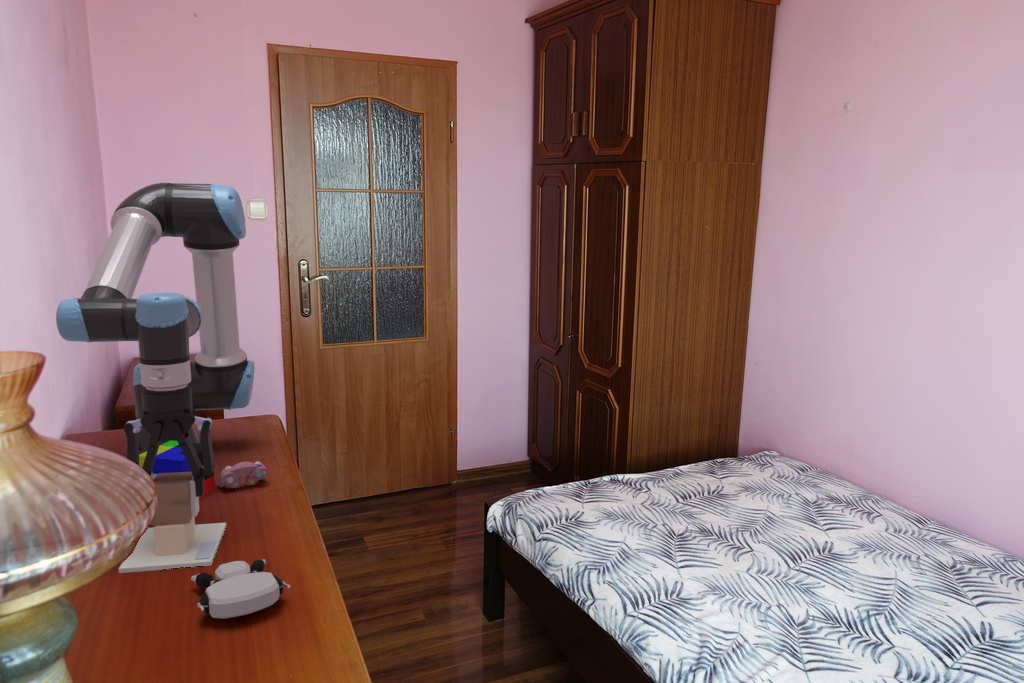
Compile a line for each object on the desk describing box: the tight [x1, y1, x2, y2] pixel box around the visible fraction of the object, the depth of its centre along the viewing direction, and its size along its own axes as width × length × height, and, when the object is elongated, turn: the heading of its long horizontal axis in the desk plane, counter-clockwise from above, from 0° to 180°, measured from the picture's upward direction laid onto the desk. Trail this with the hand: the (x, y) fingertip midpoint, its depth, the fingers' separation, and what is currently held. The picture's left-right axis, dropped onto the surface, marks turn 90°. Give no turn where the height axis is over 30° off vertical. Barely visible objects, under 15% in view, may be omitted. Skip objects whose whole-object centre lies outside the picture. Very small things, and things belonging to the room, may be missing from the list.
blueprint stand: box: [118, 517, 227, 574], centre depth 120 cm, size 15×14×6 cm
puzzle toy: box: [139, 441, 216, 499], centre depth 142 cm, size 10×10×10 cm
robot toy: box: [190, 559, 291, 620], centre depth 105 cm, size 12×4×15 cm
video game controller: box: [216, 461, 268, 489], centre depth 148 cm, size 10×5×7 cm, turn 123°
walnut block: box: [150, 472, 193, 527], centre depth 119 cm, size 6×6×7 cm
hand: (174, 514), depth 120 cm, fingers closed on walnut block, 6 cm apart
